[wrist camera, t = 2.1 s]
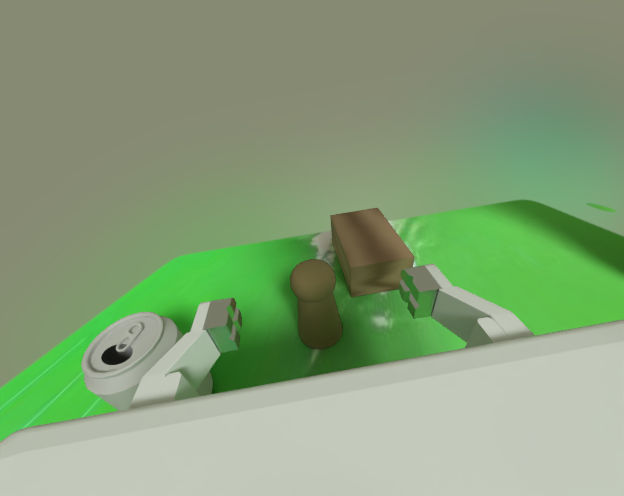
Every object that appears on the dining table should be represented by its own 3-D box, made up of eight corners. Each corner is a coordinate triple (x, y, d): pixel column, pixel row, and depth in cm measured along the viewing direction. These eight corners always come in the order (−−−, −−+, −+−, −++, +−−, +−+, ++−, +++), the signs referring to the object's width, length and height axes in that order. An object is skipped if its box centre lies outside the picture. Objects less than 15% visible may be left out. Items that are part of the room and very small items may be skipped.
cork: (300, 311, 36) (287, 253, 30) (341, 309, 36) (337, 250, 29) (296, 350, 32) (280, 290, 25) (344, 348, 31) (340, 287, 24)
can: (131, 428, 26) (46, 373, 19) (178, 361, 32) (126, 300, 25) (188, 448, 24) (117, 395, 17) (227, 373, 30) (186, 310, 23)
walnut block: (376, 234, 50) (377, 207, 46) (409, 287, 38) (414, 256, 34) (332, 241, 49) (330, 215, 46) (351, 297, 37) (350, 267, 34)
